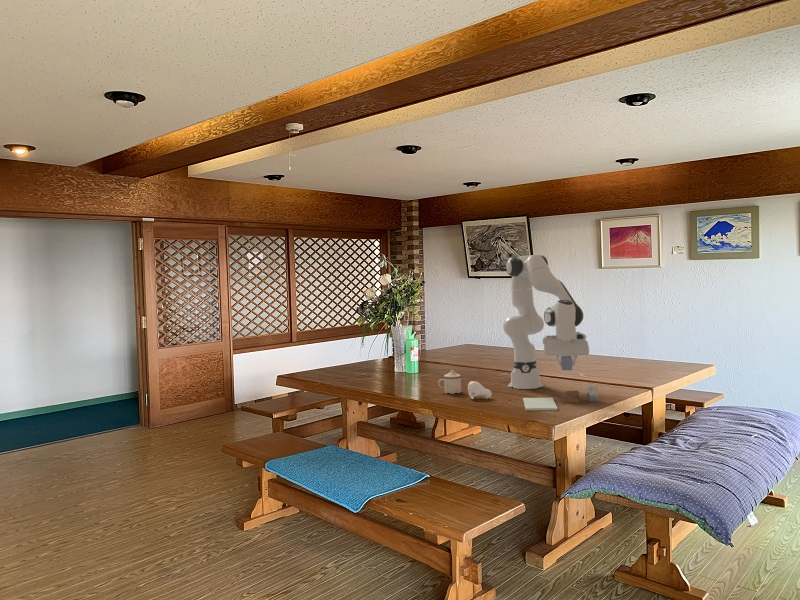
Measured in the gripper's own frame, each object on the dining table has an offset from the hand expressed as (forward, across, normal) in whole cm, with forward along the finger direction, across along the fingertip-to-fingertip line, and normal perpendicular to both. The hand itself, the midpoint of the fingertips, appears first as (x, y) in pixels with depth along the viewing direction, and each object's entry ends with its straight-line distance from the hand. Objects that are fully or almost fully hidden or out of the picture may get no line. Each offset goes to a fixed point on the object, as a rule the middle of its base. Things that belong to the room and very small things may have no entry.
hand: (566, 364), depth 276 cm
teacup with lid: (+20, -56, +31) cm, 67 cm away
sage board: (+19, -12, 0) cm, 23 cm away
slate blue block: (+2, 0, 0) cm, 2 cm away
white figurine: (+19, -40, +16) cm, 47 cm away
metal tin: (+19, +12, +7) cm, 24 cm away
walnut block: (+19, +4, +6) cm, 20 cm away
